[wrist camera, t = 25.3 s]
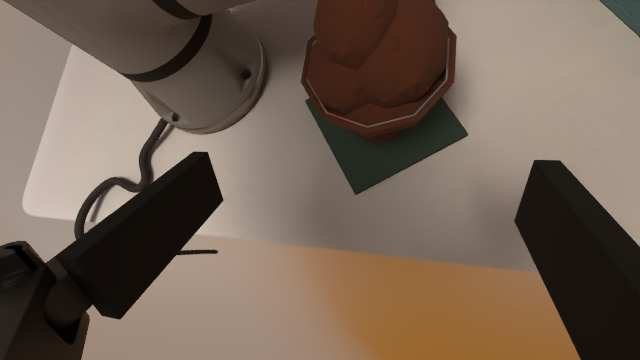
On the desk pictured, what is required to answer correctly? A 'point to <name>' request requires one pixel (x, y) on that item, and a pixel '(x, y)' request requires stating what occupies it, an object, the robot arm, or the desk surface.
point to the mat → (389, 146)
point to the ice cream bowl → (378, 64)
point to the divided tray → (626, 12)
